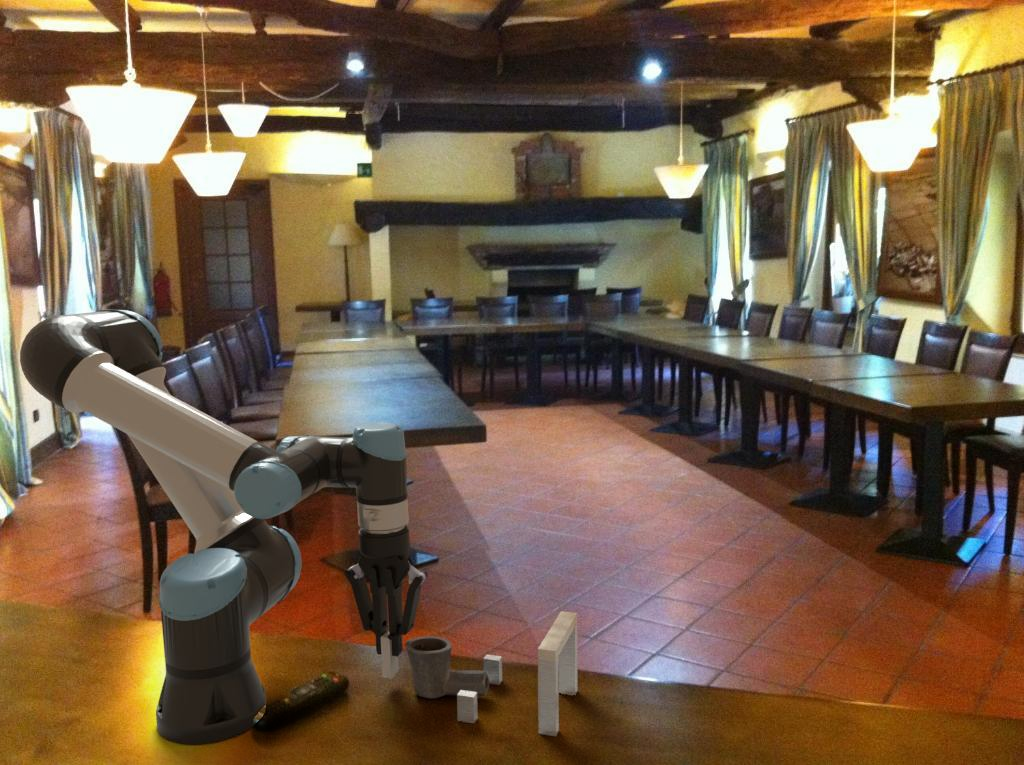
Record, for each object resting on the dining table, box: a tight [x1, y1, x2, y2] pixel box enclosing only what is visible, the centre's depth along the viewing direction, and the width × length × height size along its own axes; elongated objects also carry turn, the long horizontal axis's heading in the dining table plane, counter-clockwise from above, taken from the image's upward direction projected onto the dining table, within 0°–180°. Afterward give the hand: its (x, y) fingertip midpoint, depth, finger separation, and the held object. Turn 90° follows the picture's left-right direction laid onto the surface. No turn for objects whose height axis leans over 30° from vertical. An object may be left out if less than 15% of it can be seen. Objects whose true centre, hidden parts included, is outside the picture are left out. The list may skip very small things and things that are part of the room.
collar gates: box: [456, 610, 578, 737], centre depth 129 cm, size 14×13×12 cm
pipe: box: [404, 635, 490, 699], centre depth 133 cm, size 6×13×8 cm, turn 79°
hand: (390, 673), depth 135 cm, fingers closed
